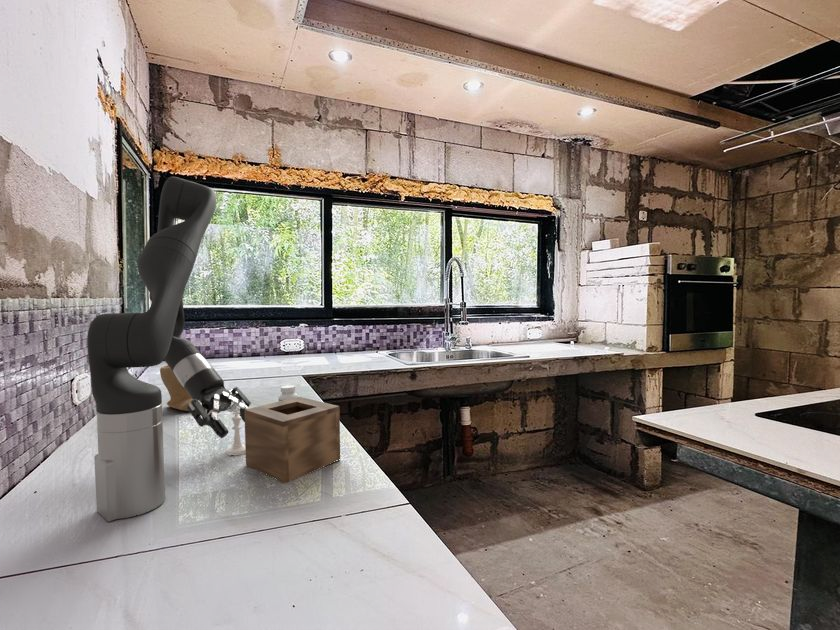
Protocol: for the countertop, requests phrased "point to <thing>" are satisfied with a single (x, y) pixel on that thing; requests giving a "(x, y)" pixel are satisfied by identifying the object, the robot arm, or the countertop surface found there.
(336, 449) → the walnut box
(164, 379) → the tan fabric boot shape
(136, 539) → the countertop surface
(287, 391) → the supplement bottle
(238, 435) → the chess piece
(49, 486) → the countertop surface
